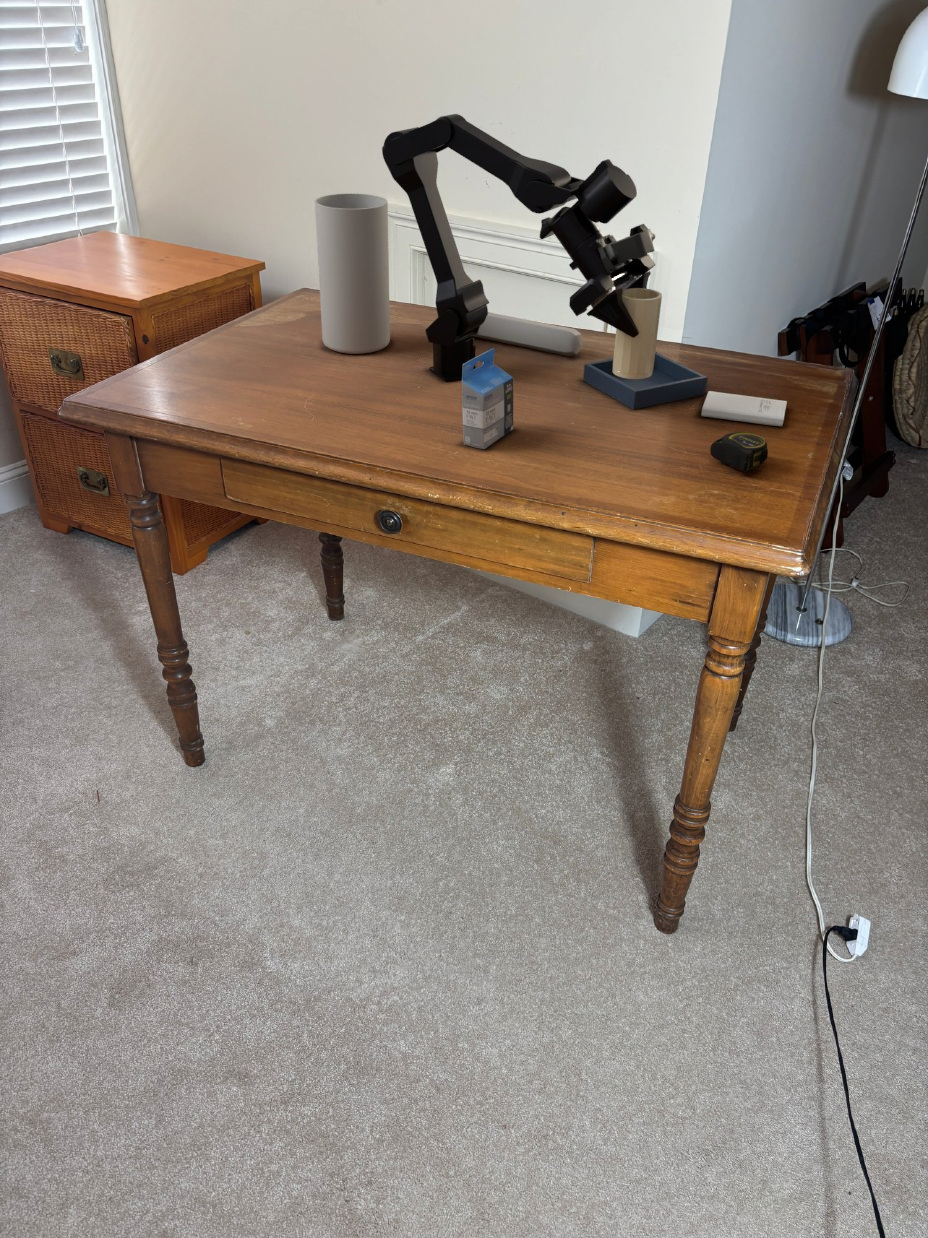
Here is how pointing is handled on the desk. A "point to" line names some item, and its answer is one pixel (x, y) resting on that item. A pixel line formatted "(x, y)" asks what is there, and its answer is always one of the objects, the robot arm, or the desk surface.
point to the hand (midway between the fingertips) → (645, 330)
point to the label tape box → (486, 401)
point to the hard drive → (744, 408)
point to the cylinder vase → (353, 271)
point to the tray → (647, 383)
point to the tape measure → (740, 450)
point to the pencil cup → (638, 352)
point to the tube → (530, 334)
